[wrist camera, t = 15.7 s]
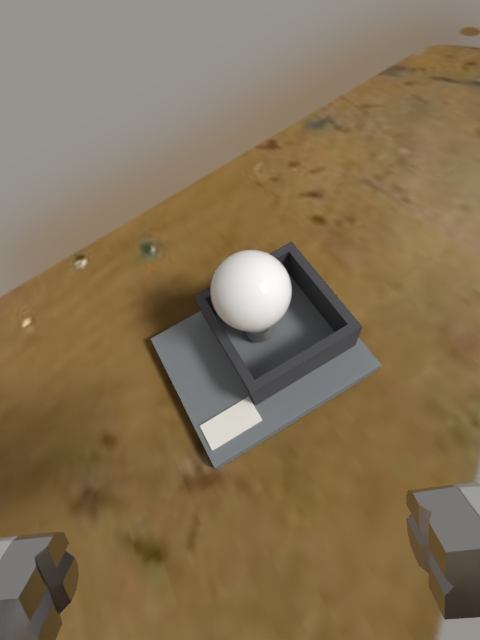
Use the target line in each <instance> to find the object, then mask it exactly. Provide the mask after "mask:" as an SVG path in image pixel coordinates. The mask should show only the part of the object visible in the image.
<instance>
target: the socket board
mask: <svg viewBox="0 0 480 640" xmlns="http://www.w3.org/2000/svg"><path fill="white" fill-rule="evenodd" d="M270 255H272V256H274V257H275V258H276V259H278V260H279V261H280V262H281V263H282V264H283V266H284V267H285V269H286V270H287V272H288V274H289V277H290V280H291V285H292V297H291V302H290V305H289V307H288V309H287V311H286V313H285V314H284V316H283V317H282V318H281V319H280V320H279V321H278V322H277V323H276V324H274V332H273V334H272V336H271V337H270V338H269V339H268V340H266V341H264V342H254V341H252V340H251V339H249V337H248V336H247V334H246V331H241V330H238V329H235V328H233V327H231V326H229V325H228V324H226V323H225V322H224V321H223V320H222V319H221V318H220V317H219V316H218V314H217V313H216V311H215V309H214V307H213V304H212V301H211V295H210V287H209V288H208V289H206V290H204V291H202V292H200V293H199V294H197V295H195V296H193V297H194V299H195V301H196V303H197V305H198V307H199V309H200V310H201V311H199V312H197V313H195V314H194V315H192V316H190V317H188V318H187V319H185V320H183V321H181V322H179V323H178V324H176V325H174V326H172V327H171V328H169V329H167V330H165V331H164V332H162V333H160V334H158V335H156V336H155V337H153V338H151V341H152V343H153V345H154V347H155V349H156V351H157V353H158V355H159V357H160V359H161V361H162V363H163V365H164V367H165V369H166V371H167V373H168V375H169V377H170V379H171V381H172V383H173V385H174V387H175V389H176V391H177V393H178V395H179V397H180V399H181V401H182V403H183V406H184V408H185V410H186V412H187V414H188V416H189V418H190V420H191V422H192V424H193V426H194V428H195V430H196V432H197V434H198V436H199V438H200V440H201V442H202V444H203V446H204V448H205V450H206V452H207V454H208V456H209V458H210V460H211V462H212V464H213V466H214V468H215V469H220V468H221V467H223V466H225V465H226V464H228V463H229V462H231V461H233V460H234V459H236V458H237V457H239V456H241V455H242V454H244V453H245V452H247V451H249V450H250V449H252V448H254V447H255V446H257V445H258V444H260V443H262V442H263V441H265V440H266V439H268V438H270V437H271V436H273V435H275V434H276V433H278V432H279V431H281V430H283V429H284V428H286V427H287V426H289V425H291V424H292V423H294V422H296V421H297V420H299V419H300V418H302V417H304V416H305V415H307V414H308V413H310V412H312V411H313V410H315V409H317V408H318V407H320V406H321V405H323V404H325V403H326V402H328V401H329V400H331V399H333V398H334V397H336V396H338V395H339V394H341V393H342V392H344V391H346V390H347V389H349V388H350V387H352V386H354V385H355V384H357V383H359V382H360V381H362V380H363V379H365V378H367V377H368V376H370V375H371V374H373V373H375V372H376V371H378V370H379V368H380V366H381V364H380V363H379V361H378V360H377V359H376V358H375V357H374V355H373V354H372V353H371V352H370V350H369V349H368V348H367V347H366V345H365V344H364V343H363V342H362V341H361V339H360V338H359V334H360V331H361V329H362V326H361V325H360V324H359V322H358V321H357V320H356V319H355V318H354V316H353V315H352V314H351V313H350V312H349V310H348V309H347V308H346V307H345V306H344V304H343V303H342V302H341V301H340V300H339V298H338V297H337V296H336V295H335V294H334V292H333V291H332V290H331V289H330V288H329V286H328V285H327V284H326V283H325V281H324V280H323V279H322V278H321V277H320V275H319V274H318V273H317V272H316V271H315V269H314V268H313V267H312V266H311V265H310V263H309V262H308V261H307V260H306V259H305V257H304V256H303V255H302V254H301V253H300V251H299V250H298V249H297V248H296V247H295V245H294V244H293V243H292V242H290V243H288V244H286V245H284V246H283V247H281V248H279V249H277V250H276V251H274V252H272V253H270Z"/></svg>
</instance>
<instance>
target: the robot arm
mask: <svg viewBox="0 0 480 640" xmlns="http://www.w3.org/2000/svg"><path fill="white" fill-rule="evenodd" d="M406 504H407V506H408V508H409V510H410V512H411V515H410V516H409V517H408V518H407V531H408V536H409V540H410V544H411V547H412V550H413V553H414V555H415V558H416V560H417V562H418V564H419V566H420V567H421V568H423V569H424V570H425V571H427V572H428V573H429V588H430V590H431V592H432V594H433V596H434V598H435V600H436V602H437V604H438V607H439V609H440V611H441V613H442V615H443V617H444V619H460V618H475V617H480V484H479V483H477V482H470V483H462V484H454V485H447V486H439V487H431V488H423V489H415V490H408V492H407V495H406ZM68 544H69V542H68V540H67V538H66V536H65V534H64V533H63V532H52V533H40V534H29V535H20V536H11V537H0V640H55V639H56V637H57V635H58V632H59V630H60V628H61V625H62V621H61V617H60V613H61V612H62V611H63V610H64V609H65V608H66V607H67V606H68V605H69V604H70V603H71V601H72V599H73V596H74V594H75V591H76V588H77V581H78V565H77V562H76V560H75V557H74V556H73V555H71V554H70V553H68V552H67V551H66V548H67V546H68Z"/></svg>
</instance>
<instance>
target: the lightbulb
mask: <svg viewBox="0 0 480 640" xmlns="http://www.w3.org/2000/svg"><path fill="white" fill-rule="evenodd" d="M210 295H211V301H212V304H213V307H214V309H215V311H216V313H217V314H218V316H219V317H220V318H221V319H222V320H223V321H224V322H225V323H226V324H228V325H229V326H231V327H233V328H235V329H238V330H241V331H246V334H247V336H248V337H249V339H251V340H252V341H254V342H264V341H266V340H268V339H269V338H270V337H271V336H272V334H273V332H274V324H276V323H277V322H278V321H279V320H280V319H281V318H282V317H283V316H284V314H285V313H286V311H287V309H288V307H289V305H290V302H291V297H292V285H291V280H290V277H289V274H288V272H287V270H286V269H285V267H284V266H283V264H282V263H281V262H280V261H279V260H278V259H276V258H275V257H274V256H272V255H270V254H268V253H266V252H263V251H259V250H243V251H239V252H236V253H234V254H232V255H230V256H229V257H227V258H226V259H225V260H224V261H222V262H221V264H220V265H219V266H218V267H217V269H216V271H215V272H214V275H213V277H212V281H211V286H210Z"/></svg>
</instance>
